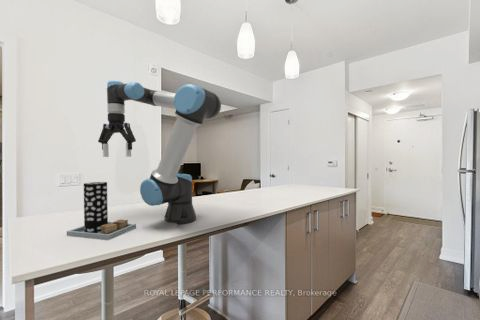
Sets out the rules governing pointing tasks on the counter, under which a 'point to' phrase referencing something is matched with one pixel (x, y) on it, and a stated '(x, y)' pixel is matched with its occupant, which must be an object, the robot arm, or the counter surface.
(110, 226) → the walnut block
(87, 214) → the white-spotted black cylinder
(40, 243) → the counter surface
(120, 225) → the walnut block
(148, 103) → the robot arm
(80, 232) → the tray
